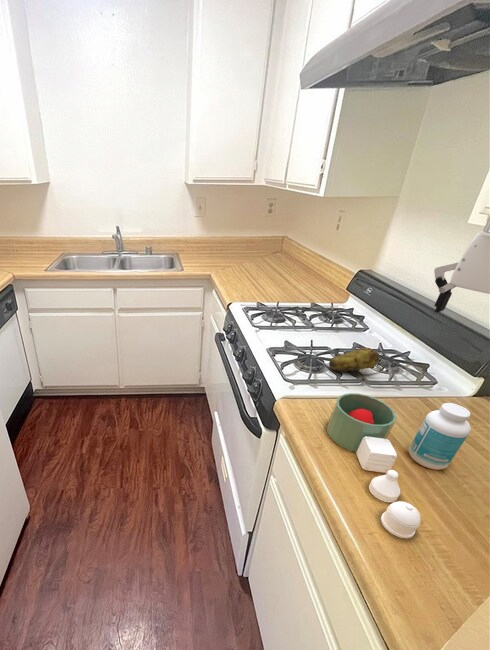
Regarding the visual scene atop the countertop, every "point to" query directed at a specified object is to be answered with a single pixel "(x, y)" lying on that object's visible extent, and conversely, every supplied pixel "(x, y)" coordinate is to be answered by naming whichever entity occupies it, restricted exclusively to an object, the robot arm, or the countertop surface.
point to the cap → (362, 415)
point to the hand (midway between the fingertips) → (465, 318)
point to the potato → (355, 360)
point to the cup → (352, 430)
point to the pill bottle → (440, 436)
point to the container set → (387, 486)
